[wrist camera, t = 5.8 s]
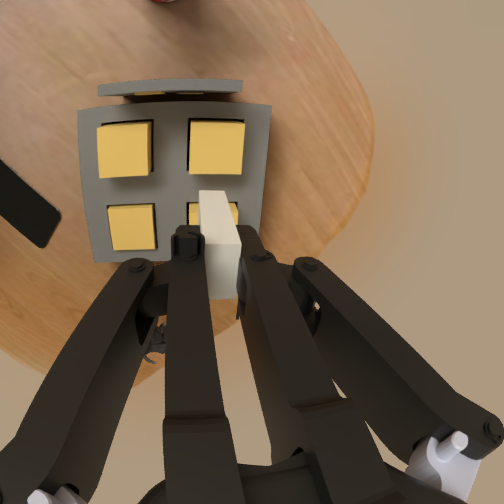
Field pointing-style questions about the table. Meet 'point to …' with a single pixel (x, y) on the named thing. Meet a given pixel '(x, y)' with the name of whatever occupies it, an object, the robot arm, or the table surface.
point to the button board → (169, 171)
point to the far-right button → (194, 212)
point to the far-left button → (133, 226)
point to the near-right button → (216, 146)
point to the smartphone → (26, 207)
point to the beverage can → (163, 0)
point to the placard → (170, 87)
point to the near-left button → (125, 149)
